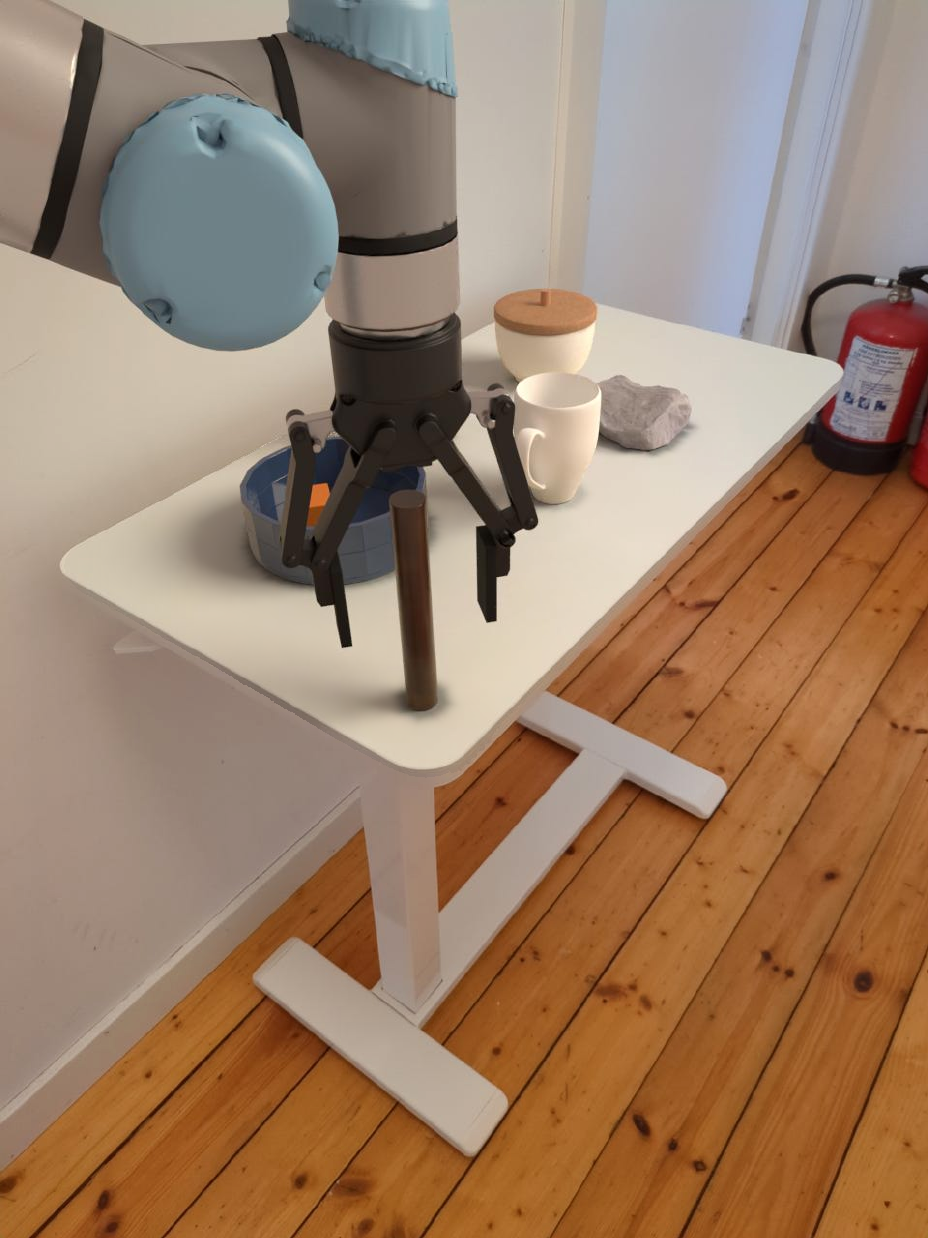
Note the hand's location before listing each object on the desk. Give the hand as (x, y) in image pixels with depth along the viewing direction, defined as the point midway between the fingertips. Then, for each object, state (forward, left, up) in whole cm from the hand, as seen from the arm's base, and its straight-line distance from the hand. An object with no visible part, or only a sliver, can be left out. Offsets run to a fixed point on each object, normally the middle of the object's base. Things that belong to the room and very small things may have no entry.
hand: (416, 622), depth 64 cm
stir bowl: (-3, +25, -8) cm, 26 cm away
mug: (+18, +25, -8) cm, 32 cm away
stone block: (+32, +38, -8) cm, 50 cm away
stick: (0, 0, -8) cm, 8 cm away
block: (-6, +25, -7) cm, 27 cm away
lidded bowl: (+27, +54, -8) cm, 61 cm away
